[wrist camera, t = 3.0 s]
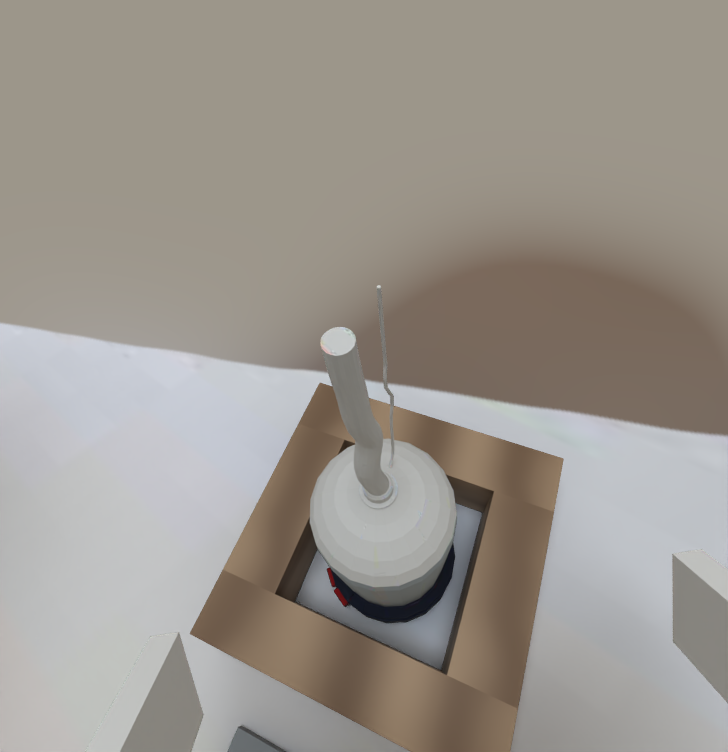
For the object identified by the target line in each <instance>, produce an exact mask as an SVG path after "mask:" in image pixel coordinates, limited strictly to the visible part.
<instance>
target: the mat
mask: <svg viewBox="0 0 728 752" xmlns="http://www.w3.org/2000/svg"><path fill="white" fill-rule="evenodd" d="M228 752H286V751H284V750H282V749H281V748H279V747H277V746H275V745H274V744H272V743H270V742H268V741H267V740H265V739H263V738H262V737H260V736H258V735H256V734H255V733H253V732H251V731H249V730H248V729H246V728H244V727H243V726H240V727H238V729H237V731H236V733H235V735H234V738H233V740H232V742H231V745H230V747H229V749H228Z"/></svg>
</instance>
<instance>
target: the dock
mask: <svg viewBox="0 0 728 752" xmlns="http://www.w3.org/2000/svg"><path fill="white" fill-rule="evenodd" d="M369 402H370V406H371V410H372V414H373V416H374V418H375V420H376V421H377V422H378V423H379V425H380V427H381V429H382V433H383V439H391V433H390V404H387V403H383V402H380V401H377V400H374V399H371V398H369ZM393 433H394V440H397V441H402V442H406V443H410V444H412V445H413V446H415V447H417V448H419V449H420V450H422V451H424V452H426V453H428V454H429V455H430V456H431V457H432V458H433V460H434V461H435V462H436V463H437V464H438V465H439V466H440V467H441V468H442V469H443V470H444V472H445V474H446V476H447V478H448V480H449V482H450V484H451V487H452V489H453V491H454V498H455V503H457V504H460V505H463V506H466V507H469V508H471V509H474V510H477V511H480V512H482V517H481V521H480V525H479V528H478V532H477V536H476V540H475V544H474V547H473V551H472V555H471V559H470V563H469V567H468V570H467V574H466V578H465V582H464V586H463V589H462V593H461V597H460V601H459V605H458V608H457V612H456V616H455V620H454V624H453V628H452V631H451V635H450V639H449V643H448V647H447V650H446V654H445V658H444V662H443V666H442V670H439V669H437V668H434V667H432V666H430V665H428V664H426V663H424V662H422V661H420V660H417V659H415V658H413V657H411V656H409V655H407V654H405V653H403V652H400V651H398V650H396V649H394V648H392V647H390V646H388V645H386V644H383V643H381V642H379V641H377V640H375V639H373V638H371V637H369V636H366V635H364V634H362V633H360V632H358V631H356V630H354V629H352V628H350V627H347V626H345V625H343V624H341V623H339V622H337V621H335V620H333V619H330V618H328V617H326V616H324V615H322V614H320V613H318V612H316V611H313V610H311V609H309V608H307V607H305V606H303V605H301V604H299V603H296V602H295V600H296V597H297V595H298V593H299V590H300V588H301V586H302V583H303V581H304V579H305V576H306V574H307V572H308V569H309V567H310V565H311V562H312V560H313V558H314V555H315V553H316V551H317V546H316V542H315V539H314V536H313V532H312V529H311V525H310V499H311V496H312V493H313V490H314V488H315V485H316V482H317V479H318V477H319V476H320V474H321V473H322V472H323V470H324V469H325V467H326V466H327V465H328V463H329V462H330V461H331V460H332V459H333V458H334V457H336V456H337V455H338V454H340V453H341V452H342V451H344V450H345V449H346V448H348V447H350V446H353V445H355V439H354V438H353V437H352V436H351V435H350V434H349V432H348V431H347V429H346V427H345V425H344V422H343V420H342V417H341V414H340V410H339V406H338V402H337V399H336V395H335V392H334V389H333V387H332V386H329V385H326V384H322V383H319V385H318V387H317V389H316V391H315V393H314V395H313V397H312V399H311V401H310V403H309V405H308V406H307V408H306V410H305V412H304V414H303V416H302V418H301V420H300V422H299V424H298V426H297V428H296V430H295V432H294V433H293V435H292V437H291V439H290V441H289V443H288V445H287V447H286V449H285V451H284V453H283V455H282V457H281V459H280V460H279V462H278V464H277V466H276V468H275V470H274V472H273V474H272V476H271V478H270V480H269V482H268V484H267V486H266V487H265V489H264V491H263V493H262V495H261V497H260V499H259V501H258V503H257V505H256V507H255V509H254V511H253V513H252V514H251V516H250V518H249V520H248V522H247V524H246V526H245V528H244V530H243V532H242V534H241V536H240V538H239V540H238V541H237V543H236V545H235V547H234V549H233V551H232V553H231V555H230V557H229V559H228V561H227V563H226V565H225V567H224V569H223V570H222V572H221V574H220V576H219V578H218V580H217V582H216V584H215V586H214V588H213V590H212V592H211V594H210V596H209V597H208V599H207V601H206V603H205V605H204V607H203V609H202V611H201V613H200V615H199V617H198V619H197V621H196V623H195V624H194V626H193V628H192V630H191V632H190V634H191V635H193V636H195V637H197V638H199V639H201V640H202V641H204V642H206V643H208V644H210V645H212V646H214V647H216V648H217V649H219V650H221V651H223V652H225V653H227V654H229V655H231V656H232V657H234V658H236V659H238V660H240V661H242V662H244V663H246V664H247V665H249V666H251V667H253V668H255V669H257V670H259V671H261V672H262V673H264V674H266V675H268V676H270V677H272V678H274V679H276V680H277V681H279V682H281V683H283V684H285V685H287V686H289V687H291V688H292V689H294V690H296V691H298V692H300V693H302V694H304V695H306V696H307V697H309V698H311V699H313V700H315V701H317V702H319V703H321V704H323V705H324V706H326V707H328V708H330V709H332V710H334V711H336V712H338V713H339V714H341V715H343V716H345V717H347V718H349V719H351V720H353V721H354V722H356V723H358V724H360V725H362V726H364V727H366V728H368V729H369V730H371V731H373V732H375V733H377V734H379V735H381V736H383V737H384V738H386V739H388V740H390V741H392V742H394V743H396V744H398V745H399V746H401V747H403V748H405V749H407V750H409V751H411V752H510V749H511V744H512V738H513V733H514V727H515V722H516V716H517V711H518V705H519V700H520V695H521V689H522V684H523V678H524V673H525V667H526V662H527V656H528V651H529V645H530V640H531V634H532V629H533V623H534V618H535V612H536V607H537V602H538V596H539V591H540V585H541V580H542V574H543V569H544V563H545V558H546V552H547V547H548V541H549V536H550V530H551V525H552V519H553V514H554V509H555V503H556V498H557V492H558V487H559V481H560V476H561V470H562V465H563V458H560V457H557V456H554V455H550V454H547V453H544V452H541V451H537V450H534V449H531V448H528V447H525V446H521V445H518V444H515V443H512V442H509V441H505V440H502V439H499V438H496V437H493V436H489V435H486V434H483V433H480V432H476V431H473V430H470V429H467V428H464V427H460V426H457V425H454V424H451V423H448V422H444V421H441V420H438V419H435V418H432V417H428V416H425V415H422V414H419V413H415V412H412V411H409V410H406V409H403V408H399V407H396V406H394V407H393Z"/></svg>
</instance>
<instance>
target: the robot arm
mask: <svg viewBox="0 0 728 752" xmlns="http://www.w3.org/2000/svg"><path fill="white" fill-rule="evenodd" d="M673 642H674V643H675V644H676V646H677V647H678V648H679V649H680V650H681V651H682V652H683V653H684V655H685V656H686V657H687V658H688V659H689V660H690V661H691V662H692V664H693V665H694V666H695V667H696V668H697V669H698V670H699V671H700V673H701V674H702V675H703V676H704V677H705V678H706V679H707V680H708V682H709V683H710V684H711V685H712V686H713V687H714V688H715V689H716V691H717V692H718V693H719V694H720V695H721V696H722V697H723V698H724V700H725V701H726V702H727V703H728V569H727V568H725V567H724V566H723V565H721V564H720V563H719V562H717V561H716V560H715V559H714V558H712V557H711V556H710V555H708V554H707V553H706V552H704V551H703V550H702V549H700V550H694V551H688V552H681V553H675V554H673ZM202 718H203V711H202V708H201V705H200V701H199V698H198V695H197V691H196V688H195V684H194V681H193V678H192V674H191V671H190V668H189V664H188V661H187V658H186V654H185V651H184V648H183V644H182V641H181V638H180V634H179V632H175V633H169V634H162V635H156V636H150V638H149V640H148V641H147V643H146V645H145V647H144V648H143V650H142V652H141V654H140V655H139V657H138V659H137V661H136V662H135V664H134V666H133V668H132V670H131V671H130V673H129V675H128V677H127V678H126V680H125V682H124V684H123V685H122V687H121V689H120V691H119V693H118V694H117V696H116V698H115V700H114V701H113V703H112V705H111V707H110V708H109V710H108V712H107V714H106V715H105V717H104V719H103V721H102V723H101V724H100V726H99V728H98V730H97V731H96V733H95V735H94V737H93V738H92V740H91V742H90V744H89V746H88V747H87V749H86V751H85V752H191V750H192V748H193V745H194V742H195V739H196V736H197V733H198V730H199V727H200V724H201V721H202Z"/></svg>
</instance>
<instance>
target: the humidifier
mask: <svg viewBox="0 0 728 752" xmlns="http://www.w3.org/2000/svg"><path fill="white" fill-rule="evenodd" d="M377 295H378V306H379V318H380V330H381V341H382V350H383V351H382V352H383V361H384V369H383V381H384V389H385V390H386V391H387V393H388V394H389V395H390V433H391V439H383V433H382V429H381V427H380V425H379V423H378V422H377V421H376V420H375V418H374V416H373V414H372V410H371V406H370V402H369V397H368V392H367V388H366V384H365V380H364V376H363V372H362V367H361V363H360V358H359V353H358V348H357V343H356V338H355V335H354V333H353V332H352V331H350V330H349V329H347V328H343V327H336V328H332V329H330V330H328V331H327V332H325V334H324V335H323V336H322V338H321V348H322V352H323V356H324V360H325V363H326V367H327V370H328V374H329V377H330V380H331V383H332V386H333V389H334V392H335V395H336V399H337V402H338V406H339V410H340V414H341V417H342V420H343V422H344V425H345V427H346V429H347V431H348V432H349V434H350V435H351V436H352V437H353V438H354V439H355V445H353V446H350V447H348V448H346V449H345V450H344V451H342V452H341V453H340V454H338V455H337V456H336V457H334V458H333V459H332V460H331V461H330V462H329V463H328V465H327V466H326V467H325V469H324V470H323V472H322V473H321V474H320V476H319V477H318V479H317V482H316V485H315V488H314V490H313V493H312V496H311V499H310V525H311V529H312V532H313V536H314V539H315V542H316V546H317V548H318V551H319V552H320V553H321V555H322V556H323V558H324V559H325V561H326V562H327V564H328V565H329V567H330V568H327V572H328V575H329V579H330V582H331V585H332V587H336V586H337V588H336V589H335V590H334V592H335V594H336V595H337V597H338V598H339V600H340V601H341V602H342V604H343V605H344V606H345V607H346V606H347V605H348V604H351V605H352V606H353V607H355V608H356V609H357V610H358V611H360V612H361V613H362V614H364V615H365V616H367V617H369V618H372V619H375V620H378V621H381V622H385V623H399V622H408V621H410V620H412V619H415V618H417V617H419V616H422V615H424V614H426V613H427V612H428V611H429V610H430V609H431V608H432V607H433V606H434V605H435V604H436V603H437V602H438V601H439V600H440V599H441V597H442V595H443V593H444V591H445V589H446V587H447V585H448V584H449V582H450V580H451V578H452V572H453V566H454V560H455V553H454V545H453V539H454V534H455V528H456V522H457V511H456V505H455V498H454V491H453V489H452V487H451V484H450V482H449V480H448V478H447V476H446V474H445V472H444V470H443V469H442V468H441V467H440V466H439V465H438V464H437V463H436V462H435V461H434V460H433V458H432V457H431V456H430V455H429V454H428V453H426V452H424V451H422V450H420V449H419V448H417V447H415V446H413V445H412V444H410V443H406V442H402V441H397V440H394V433H393V407H394V396H393V394H392V393H391V391H390V390H389V388H388V386H387V357H386V345H385V333H384V320H383V308H382V295H381V286H380V285H378V286H377Z"/></svg>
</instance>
